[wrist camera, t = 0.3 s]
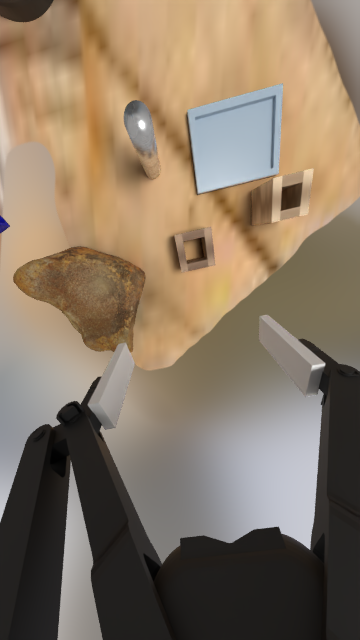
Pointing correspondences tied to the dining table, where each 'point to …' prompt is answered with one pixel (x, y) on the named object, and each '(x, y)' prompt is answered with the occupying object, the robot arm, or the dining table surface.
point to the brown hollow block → (206, 245)
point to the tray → (236, 139)
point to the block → (282, 198)
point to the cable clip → (3, 224)
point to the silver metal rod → (143, 137)
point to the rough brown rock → (88, 293)
